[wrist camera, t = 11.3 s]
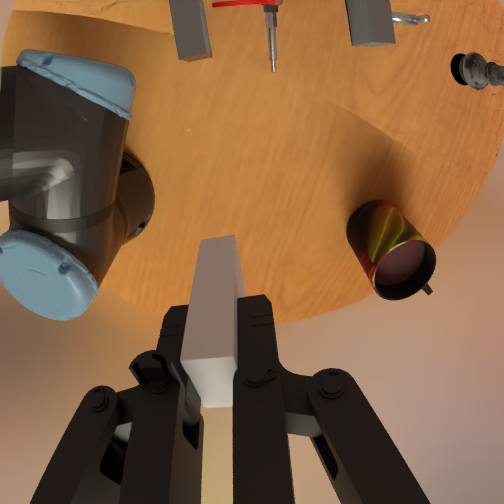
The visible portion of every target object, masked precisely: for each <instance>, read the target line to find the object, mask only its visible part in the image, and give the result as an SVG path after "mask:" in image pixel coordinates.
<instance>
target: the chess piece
mask: <svg viewBox="0 0 504 504" xmlns="http://www.w3.org/2000/svg"><path fill="white" fill-rule="evenodd" d="M451 72H452V75H453V77H454V79H455V80H456V81H457V82H458V83H459V84H461V85H470V86H471V87H472V88H473V89H475V90H482V89H484V88H485V87H486V86H487V85H488V83H489V84H490V85H492V86H498V85H502V86H504V66H499V65H497V64H496V63H494V62H489V63H487V62H486V61H485V59H484V58H483V57H482V56H481V55H479V54H478V53H475V52H474V53H469V54H467V55H465V54H462V53H460V54H456V55H455V56H454V57H453V58H452V60H451Z"/></svg>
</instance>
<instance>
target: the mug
mask: <svg viewBox="0 0 504 504" xmlns="http://www.w3.org/2000/svg"><path fill="white" fill-rule="evenodd" d="M346 234H347V239H348V242H349V244H350V246H351V247H352V249H353V251H354V253H355V255H356V256H357V258H358V260H359V262H360V264H361V265H362V267H363V269H364V271H365V273H366V275H367V277H368V279H369V280H370V282H371V284H372V286H373V288H374V290H375V291H376V293H377V294H378V295H379V296H380V297H382V298H384V299H387V300H401V299H404V298H407V297H410V296H411V295H414V294H415V293H417V292H418V291H419V290H420V289H422V290H424V291H425V292H426V293H427V294H428V295H430V294H431V293H432V292H433V291H432V290H431V288H430V286H429V285H428V284H427V282H428V281H429V280H430V278H431V276H432V274H433V272H434V269H435V266H436V255H435V252H434V249H433V248H432V247H431V245H430V244H429V243H428V242H427V241H426V240H425V239H424V237H423V236H422V235H421V234H420V233H419V232H418V231H417V230H416V229H415V228H414V226H413V225H412V224H411V223H410V222H409V221H408V220H407V219H406V218H405V217H404V216H403V215H402V214H401V213H400V212H399V211H398V210H397V209H396V207H395V206H394V205H392V204H391V203H389V202H386V201H382V200H375V201H371V202H368V203H365V204H363V205H362V206H360V207H359V208H358V209H357V210H356V211H355V212H354V213H353V214H352V216H351V217H350V219H349V222H348V225H347V231H346Z"/></svg>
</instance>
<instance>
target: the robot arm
mask: <svg viewBox="0 0 504 504" xmlns="http://www.w3.org/2000/svg"><path fill="white" fill-rule="evenodd" d="M16 63H17V64H18V65H16V66H6V67H0V202H1V201H6V200H8V202H9V220H10V227H9V230H8V231H7V232H5V233H3V234H2V235H1V236H0V280H1V281H2V283H3V284H4V286H5V287H6V289H7V290H8V291H9V292H10V294H11V295H12V296H13V297H15V298H16V299H17V300H18V301H19V302H20V303H21V304H22V305H24V306H25V307H26V308H28V309H30V310H31V311H33V312H35V313H37V314H39V315H41V316H44V317H47V318H50V319H54V320H69V319H72V318H73V317H78V316H80V315H81V314H82V313H84V312H85V310H86V309H87V307H88V306H89V304H90V303H91V301H92V300H93V299H94V298H95V297H96V296H97V292H98V288H99V286H100V285H101V283H102V281H103V279H104V277H105V275H106V273H107V271H108V269H109V268H110V266H111V264H112V262H113V260H114V258H115V256H116V255H117V253H118V251H119V249H120V247H121V246H122V245H123V244H125V243H127V242H129V241H130V240H132V239H134V238H135V237H137V236H138V235H139V234H140V233H141V232H142V231H143V230H144V229H145V227H146V226H147V224H148V223H149V221H150V219H151V217H152V214H153V211H154V205H155V194H154V189H153V185H152V182H151V179H150V177H149V175H148V173H147V172H146V170H145V169H144V168H143V166H142V165H141V164H140V163H139V162H138V161H137V160H136V159H135V158H133V157H132V156H130V155H129V154H127V153H125V152H123V150H124V145H125V140H126V135H127V130H128V125H129V121H131V120H132V115H131V109H132V103H133V98H134V93H135V88H136V81H135V78H134V76H133V74H132V73H131V72H130V71H129V70H128V69H126V68H123V67H120V66H117V65H113V64H109V63H104V62H100V61H96V60H91V59H86V58H81V57H76V56H70V55H64V54H58V53H52V52H45V51H39V50H30V49H26V50H23V51H22V52H21V54H20V56H19V57H18V58H17V60H16ZM129 369H130V371H131V372H132V374H133V375H134V377H135V378H136V380H137V381H138V383H139V385H138V386H135V387H133V388H130V389H126V390H123V391H120V392H115V391H114V390H113V389H112V388H110V387H108V386H98V387H94V388H93V389H91V390H90V391H89V392H88V393H87V394H86V395H85V396H84V398H83V400H82V402H81V403H80V405H79V407H78V409H77V410H76V412H75V414H74V416H73V418H72V420H71V421H70V423H69V425H68V427H67V429H66V431H65V433H64V435H63V436H62V438H61V440H60V442H59V444H58V446H57V448H56V450H55V452H54V454H53V456H52V458H51V460H50V462H49V464H48V466H47V468H46V470H45V472H44V474H43V476H42V478H41V480H40V482H39V484H38V487H37V489H36V491H35V493H34V495H33V497H32V500H31V502H30V504H201V478H202V453H203V452H202V451H203V432H204V420H203V416H202V415H201V413H200V406H201V402H202V404H203V406H204V407H205V408H213V407H230V406H233V504H295V498H294V488H293V478H292V469H291V460H290V450H289V441H288V433H289V434H296V435H301V436H308V437H310V439H311V441H312V443H313V445H314V447H315V449H316V452H317V454H318V456H319V458H320V460H321V462H322V465H323V466H324V468H325V471H326V473H327V475H328V477H329V479H330V481H331V484H332V486H333V488H334V490H335V492H336V494H337V496H338V498H339V500H340V502H341V504H430V502H429V500H428V499H427V497H426V495H425V494H424V492H423V491H422V488H421V487H420V485H419V483H418V482H417V480H416V479H415V477H414V475H413V474H412V472H411V470H410V469H409V467H408V465H407V464H406V462H405V460H404V459H403V458H402V455H401V454H400V452H399V451H398V449H397V447H396V446H395V444H394V442H393V441H392V439H391V438H390V436H389V434H388V433H387V431H386V429H385V428H384V426H383V425H382V423H381V421H380V420H379V418H378V417H377V415H376V413H375V412H374V410H373V408H372V407H371V405H370V404H369V402H368V400H367V399H366V397H365V396H364V394H363V392H362V391H361V389H360V388H359V386H358V385H357V383H356V381H355V380H354V378H353V377H352V376H351V375H350V374H349V373H347V372H346V371H343V370H341V369H335V368H329V369H324V370H321V371H319V372H317V373H316V374H314V375H313V376H304V375H298V374H294V373H292V372H290V371H287V370H286V369H285V368H284V367H283V366H282V365H281V363H280V362H279V358H278V351H277V341H276V333H275V326H274V319H273V312H272V304H271V302H270V301H269V299H268V298H267V297H266V296H265V294H263V295H256V296H248V297H245V284H244V279H243V274H242V269H241V264H240V259H239V254H238V249H237V243H236V238H235V235H232V236H225V237H219V238H212V239H205V240H201V243H200V248H199V253H198V259H197V264H196V269H195V274H194V280H193V285H192V291H191V296H190V302H189V305H180V306H171V308H170V309H169V310H168V312H167V313H166V314H165V316H164V319H163V323H162V329H161V331H160V338H159V340H158V344H157V348H156V350H151V351H146V352H144V353H142V354H140V355H138V356H137V357H136V358H135V359H134V360H133V361H132V362H131V364H130V366H129Z"/></svg>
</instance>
